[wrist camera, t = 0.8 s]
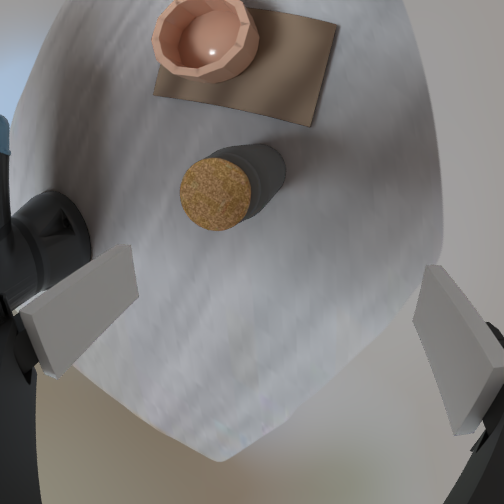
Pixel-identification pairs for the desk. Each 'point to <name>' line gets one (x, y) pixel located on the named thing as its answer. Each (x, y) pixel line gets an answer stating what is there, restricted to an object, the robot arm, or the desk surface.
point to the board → (268, 71)
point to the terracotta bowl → (205, 39)
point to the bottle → (231, 185)
